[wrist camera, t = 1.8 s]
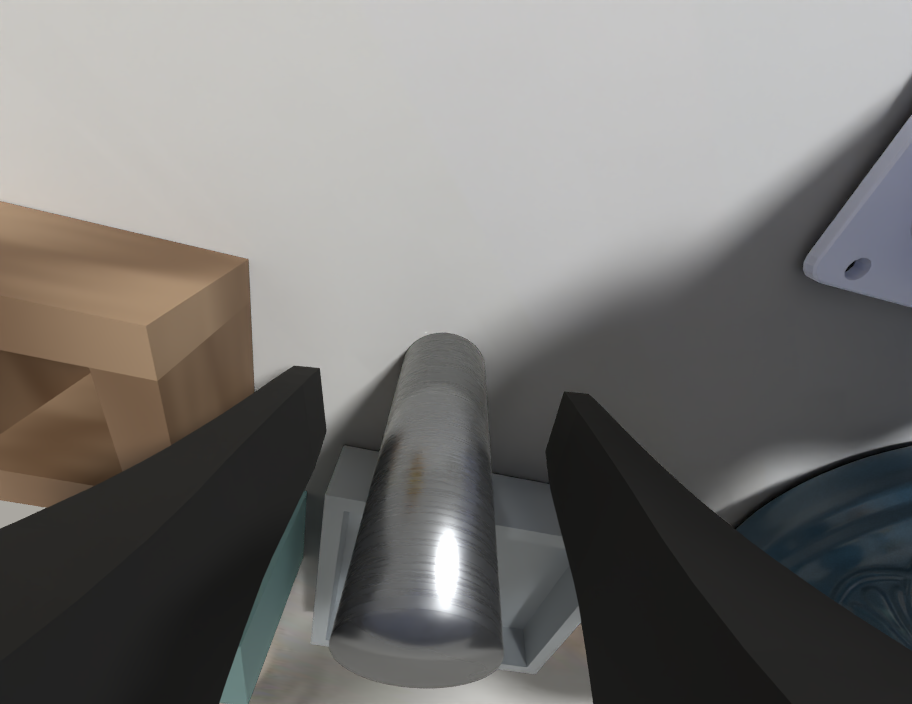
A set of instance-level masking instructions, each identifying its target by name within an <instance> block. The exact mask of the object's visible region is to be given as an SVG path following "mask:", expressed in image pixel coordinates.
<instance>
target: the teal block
mask: <svg viewBox="0 0 912 704" xmlns="http://www.w3.org/2000/svg"><path fill="white" fill-rule="evenodd" d="M306 498H307V491H304V492H303V494H302V496H301V498H300V500H299V502H298V504H297V506H296V509H295V511H294V513H293V515H292V517H291V519H290V521H289V523H288V525H287V527H286V530H285V532H284V534H283V536H282V538H281V540H280V542H279V544H278V546H277V548H276V551H275V553H274V555H273V557H272V559H271V561H270V564H269V566H268V568H267V571H266V573H265V575H264V578H263V580H262V583H261V586H260V588H259V591H258V594H257V597H256V599H255V602H254V605H253V608H252V610H251V613H250V616H249V618H248V621H247V624H246V627H245V629H244V632H243V635H242V638H241V641H240V644H239V647H238V650H237V652H236V655H235V658H234V661H233V664H232V667H231V670H230V673H229V675H228V678H227V681H226V684H225V687H224V690H223V693H222V696H221V699H220V702H219V703H227V704H249V701H250V699H251V696H252V693H253V691H254V688H255V685H256V683H257V680H258V677H259V674H260V672H261V669H262V666H263V664H264V661H265V658H266V656H267V653H268V650H269V648H270V645H271V642H272V640H273V637H274V634H275V631H276V629H277V626H278V623H279V621H280V618H281V615H282V613H283V610H284V607H285V605H286V602H287V599H288V597H289V594H290V591H291V588H292V586H293V583H294V580H295V578H296V575H297V572H298V570H299V567H300V564H301V562H302V559H303V551H304V534H305V516H306Z"/></svg>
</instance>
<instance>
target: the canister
mask: <svg viewBox="0 0 912 704" xmlns="http://www.w3.org/2000/svg"><path fill="white" fill-rule="evenodd" d="M736 530H737V531H738V532H739V533H741V534H742V535H743V536H744V537H746V538H747V539H748V540H749V541H751V542H752V543H753V544H755V545H756V546H757V547H759V548H760V549H761V550H763V551H764V552H766V553H767V554H768V555H770V556H771V557H772V558H774V559H775V560H776V561H778V562H779V563H781V564H782V565H784V566H785V567H786V568H788V569H789V570H791V571H792V572H793V573H795V574H796V575H798V576H799V577H800V578H802V579H803V580H805V581H806V582H808V583H809V584H810V585H812V586H813V587H815V588H816V589H817V590H819V591H820V592H822V593H823V594H825V595H826V596H828V597H829V598H831V599H832V600H834V601H835V602H837V603H838V604H840V605H841V606H843V607H844V608H846V609H847V610H849V611H850V612H852V613H853V614H855V615H856V616H858V617H859V618H861V619H863V620H864V621H866V622H867V623H869V624H870V625H872V626H874V627H875V628H877V629H878V630H880V631H881V632H883V633H885V634H886V635H888V636H889V637H891V638H892V639H894V640H896V641H897V642H899V643H900V644H902V645H903V646H905V647H907V648H908V649H910V650H911V651H912V446H908V447H903V448H899V449H895V450H891V451H887V452H883V453H879V454H876V455H872V456H869V457H866V458H863V459H860V460H857V461H854V462H851V463H848V464H846V465H843V466H840V467H838V468H835V469H833V470H830V471H828V472H825V473H823V474H821V475H818V476H816V477H814V478H812V479H810V480H808V481H805V482H803V483H801V484H800V485H798V486H796V487H794V488H792V489H790V490H788V491H787V492H785V493H783V494H782V495H780V496H778V497H777V498H775V499H773V500H772V501H770V502H769V503H767V504H766V505H764V506H763V507H762V508H760V509H759V510H757V511H756V512H755V513H753V514H752V515H751V516H750V517H749V518H747V519H746V520H745V521H744V522H743V523H742V524H741V525H740V526H739V527H738V528H737V529H736Z"/></svg>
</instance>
